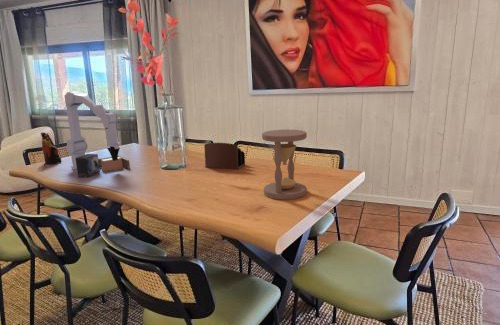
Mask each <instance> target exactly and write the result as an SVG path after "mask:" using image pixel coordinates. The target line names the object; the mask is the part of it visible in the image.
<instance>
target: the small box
mask: <svg viewBox="0 0 500 325" xmlns="http://www.w3.org/2000/svg"><path fill="white" fill-rule="evenodd" d="M75 159H76V166H77V169H76V171H77V177H78V178H89V177H92V176H94V175H96V174H100V173H101V169H100V168H99V161H98V159H99V154H98V153H85V155H83V156H80V157H76V158H75ZM99 172H100V173H99Z"/></svg>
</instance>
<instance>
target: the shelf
mask: <svg viewBox="0 0 500 325" xmlns="http://www.w3.org/2000/svg"><path fill="white" fill-rule="evenodd" d="M118 157H120V158H122V164H123V168H124V169H127V170H130V169H131V165H130V160H129V159H128V158H125V157H123V156H122V155H118ZM108 158H112V157H111V156H108V157H103V158H98V161H99V168H100V167H101V168H102V165H101V160H102V159H108Z"/></svg>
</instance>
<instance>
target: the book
mask: <svg viewBox="0 0 500 325" xmlns="http://www.w3.org/2000/svg"><path fill="white" fill-rule="evenodd" d="M101 165H102V167H101V169H102V171H104V172H109V171H108V170H110V171H115V169H116V170H120V169H123V168H124V167H123V164H122V158H120V157H118V160H115V161H113V159H112V158H108V159H102V160H101Z"/></svg>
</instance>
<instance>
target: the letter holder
mask: <svg viewBox="0 0 500 325" xmlns="http://www.w3.org/2000/svg"><path fill="white" fill-rule="evenodd" d="M203 146H204V161H205V162H204V163H205V165H204V166H205V168H207V169H208V168H209V169H212V168H213V169H227V170H239V169H241V168H242V167H244V166H246V160H245V159H246V157H245V155H246V154H245V152H244V151H243V150H242V149H241V148H238V145H237V144H235V143H229V142H228V143H227V142H211V143H210V142H209V143H205V144H204V145H203Z"/></svg>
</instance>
